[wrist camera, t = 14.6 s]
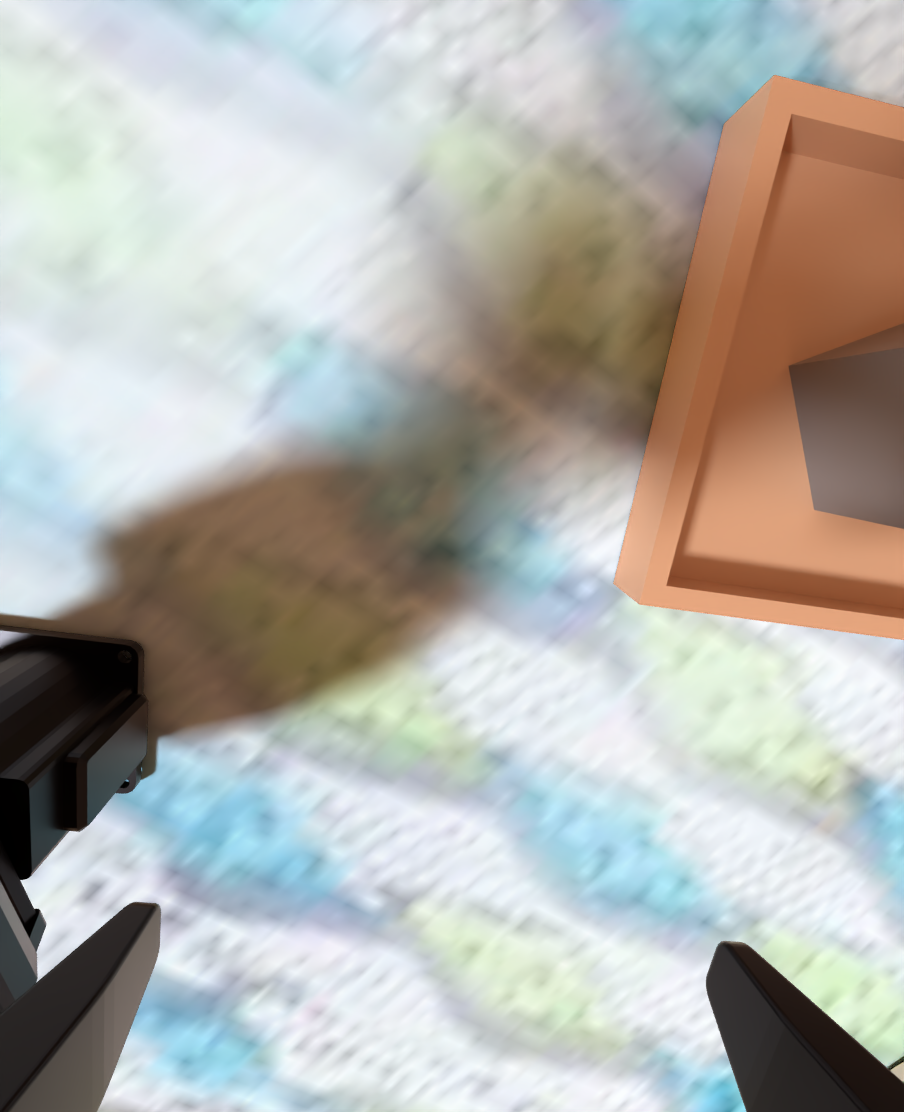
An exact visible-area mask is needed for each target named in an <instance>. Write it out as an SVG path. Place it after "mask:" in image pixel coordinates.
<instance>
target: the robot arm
mask: <svg viewBox="0 0 904 1112" xmlns="http://www.w3.org/2000/svg"><path fill="white" fill-rule="evenodd" d="M123 651H127V652H129V653H130V654H131V656H132V658H131V659H130V658H127V657H126V656H125V655H124V653H123ZM143 672H144V652H143V649H142V647H141V646H140V645H139V644H138V643H137V642H134V641H131V640H123V639H114V638H105V637H96V636H88V635H79V634H70V633H62V632H53V631H44V630H35V629H27V628H18V627H9V626H0V1112H97V1111H98V1108H99V1106H100V1104H101V1102H102V1100H103V1097H104V1095H105V1093H106V1090H107V1088H108V1085H109V1083H110V1080H111V1078H112V1075H113V1073H114V1070H115V1067H116V1065H117V1062H118V1060H119V1057H120V1054H121V1052H122V1049H123V1047H124V1044H125V1041H126V1039H127V1036H128V1034H129V1031H130V1028H131V1026H132V1023H133V1021H134V1018H135V1016H136V1013H137V1010H138V1008H139V1005H140V1003H141V1000H142V997H143V995H144V992H145V990H146V987H147V984H148V982H149V979H150V977H151V974H152V971H153V969H154V966H155V963H156V960H157V957H158V953H159V947H160V925H161V908H160V906H159V904H156V903H145V902H133V903H131V904H129V905H127V906H126V907H124V908H123V909H122V910H121V911H120V912H119V913H117V914H116V915H115V916H114V917H113V918H112V919H110V920H109V921H108V922H107V923H106V924H105V925H103V926H102V927H101V928H100V929H99V930H98V931H96V932H95V933H94V934H93V935H92V936H91V937H89V938H88V939H87V940H86V941H85V942H84V943H82V944H81V945H80V946H79V947H78V948H77V949H75V950H74V951H73V952H72V953H71V954H70V955H68V956H67V957H66V958H65V959H64V960H63V961H61V962H60V963H59V964H58V965H57V966H55V967H54V968H53V969H52V970H51V971H50V972H48V973H47V974H46V975H45V976H44V977H43V978H41V979H40V980H39V981H38V982H37V983H36V981H37V953H36V952H37V949H38V946H39V943H40V941H41V938H42V935H43V933H44V930H45V927H46V922H45V920H44V918H43V915H42V913H41V911H40V910H39V909H34V908H33V906H32V904H31V902H30V900H29V898H28V895H27V893H26V891H25V889H24V887H23V885H22V883H21V881H20V880H24V879H28V878H29V877H30V876H31V875H32V874H33V873H34V872H35V871H36V869H37V868H38V867H39V866H40V865H41V864H42V862H43V861H44V860H45V859H46V858H47V857H48V855H49V854H50V853H51V852H52V851H53V850H54V848H55V847H56V846H57V845H58V844H59V842H60V841H61V840H62V839H63V838H64V837H65V835H66V834H67V833H68V832H69V831H77V832H80V831H82V830H83V829H84V828H86V827H87V826H88V825H89V824H90V823H91V822H92V821H93V819H94V818H95V817H96V816H97V815H98V813H99V812H100V811H101V810H102V808H103V807H104V806H105V805H106V804H107V802H108V801H109V800H110V799H111V797H112V796H113V795H114V794H115V793H122V794H123V793H129V792H131V791H133V789H134V788H135V787H136V786H137V784H138V783H139V782H140V779H141V761H142V759H143V758H144V757H145V756H146V753H147V721H148V700H147V699H146V697H145V695H143ZM126 779H128V780H129V782H127V781H125V780H126ZM35 983H36V984H35ZM706 989H707V994H708V998H709V1001H710V1004H711V1007H712V1010H713V1013H714V1016H715V1019H716V1022H717V1025H718V1028H719V1031H720V1034H721V1037H722V1040H723V1043H724V1046H725V1049H726V1052H727V1055H728V1058H729V1061H730V1064H731V1067H732V1070H733V1073H734V1076H735V1079H736V1082H737V1085H738V1088H739V1091H740V1094H741V1097H742V1100H743V1103H744V1106H745V1108H746V1111H747V1112H904V1082H903V1081H901V1080H900V1079H899V1078H898V1077H897V1076H896V1075H895V1074H893V1073H892V1072H891V1071H890V1070H889V1069H888V1068H887V1067H886V1066H884V1065H883V1064H882V1063H881V1062H880V1061H879V1060H878V1059H877V1058H875V1057H874V1056H873V1055H872V1054H871V1053H870V1052H869V1051H867V1050H866V1049H865V1048H864V1047H863V1046H862V1045H861V1044H860V1043H858V1042H857V1041H856V1040H855V1039H854V1038H853V1037H852V1036H851V1035H849V1034H848V1033H847V1032H846V1031H845V1030H844V1029H843V1028H841V1027H840V1026H839V1025H838V1024H837V1023H836V1022H835V1021H834V1020H832V1019H831V1018H830V1017H829V1016H828V1015H827V1014H826V1013H825V1012H823V1011H822V1010H821V1009H820V1008H819V1007H818V1006H817V1005H815V1004H814V1003H813V1002H812V1001H811V1000H810V999H809V998H808V997H806V996H805V995H804V994H803V993H802V992H801V991H800V990H799V989H797V988H796V987H795V986H794V985H793V984H792V983H791V982H790V981H788V980H787V979H786V978H785V977H784V976H783V975H782V974H780V973H779V972H778V971H777V970H776V969H775V968H774V967H773V966H771V965H770V964H769V963H768V962H767V961H766V960H765V959H764V958H762V957H761V956H760V955H759V954H758V953H757V952H756V951H754V950H753V949H752V948H751V947H750V946H748V945H747V944H745V943H742V942H733V941H722V942H720V943H719V944H718V946H717V948H716V951H715V953H714V956H713V959H712V962H711V965H710V968H709V971H708V973H707V977H706Z"/></svg>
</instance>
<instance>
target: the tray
mask: <svg viewBox="0 0 904 1112" xmlns="http://www.w3.org/2000/svg"><path fill="white" fill-rule="evenodd" d="M902 323H904V107H900V106H896V105H892V104H888V103H884V102H880V101H876V100H872V99H868V98H864V97H860V96H856V95H852V94H848V93H844V92H840V91H836V90H832V89H828V88H824V87H820V86H816V85H813V84H809V83H805V82H801V81H797V80H793V79H789V78H785V77H781V76H777V75H774V76H773V77H772V78H771V79H770V80H769V81H768V82H766V83H765V84H764V85H763V86H762V87H761V88H760V89H759V90H758V91H757V92H756V93H755V94H754V95H753V96H752V97H751V98H750V99H749V100H748V101H747V102H746V103H745V104H744V105H743V106H742V107H741V108H740V109H739V110H738V111H737V112H736V113H735V114H734V115H733V116H732V117H731V118H730V119H729V120H728V121H727V122H725V123H724V126H723V130H722V134H721V138H720V142H719V147H718V151H717V155H716V159H715V163H714V167H713V172H712V176H711V180H710V184H709V188H708V192H707V196H706V201H705V205H704V209H703V213H702V217H701V221H700V226H699V230H698V234H697V238H696V242H695V246H694V250H693V255H692V259H691V263H690V267H689V271H688V275H687V280H686V284H685V288H684V292H683V296H682V300H681V304H680V309H679V313H678V317H677V321H676V325H675V329H674V334H673V338H672V342H671V346H670V350H669V354H668V358H667V363H666V367H665V371H664V375H663V379H662V383H661V388H660V392H659V396H658V400H657V404H656V408H655V412H654V417H653V421H652V425H651V429H650V433H649V437H648V442H647V446H646V450H645V454H644V458H643V462H642V466H641V471H640V475H639V479H638V483H637V487H636V491H635V496H634V500H633V504H632V508H631V512H630V516H629V520H628V525H627V529H626V533H625V537H624V541H623V545H622V550H621V554H620V558H619V562H618V566H617V570H616V574H615V579H614V583H613V584H614V585H616V586H617V587H618V588H619V589H621V590H622V591H623V592H624V593H626V594H627V595H628V596H629V597H631V598H632V599H633V600H634V601H636V602H637V603H638V604H640V605H648V606H655V607H663V608H670V609H678V610H685V611H693V612H700V613H707V614H715V615H722V616H730V617H737V618H745V619H752V620H760V621H767V622H774V623H782V624H789V625H797V626H804V627H812V628H819V629H827V630H834V631H841V632H849V633H856V634H864V635H871V636H879V637H886V638H894V639H901V640H904V529H901V528H897V527H892V526H887V525H883V524H878V523H873V522H868V521H864V520H859V519H854V518H850V517H845V516H840V515H835V514H831V513H826V512H821V511H817V510H814V507H813V501H812V495H811V490H810V484H809V479H808V473H807V467H806V462H805V456H804V451H803V445H802V439H801V434H800V428H799V422H798V417H797V411H796V406H795V400H794V394H793V389H792V383H791V378H790V372H789V365H792V364H795V363H797V362H800V361H803V360H805V359H808V358H811V357H813V356H816V355H819V354H822V353H824V352H827V351H830V350H832V349H835V348H838V347H840V346H843V345H846V344H849V343H851V342H854V341H857V340H859V339H862V338H865V337H867V336H870V335H873V334H875V333H878V332H881V331H884V330H886V329H889V328H892V327H894V326H897V325H900V324H902Z"/></svg>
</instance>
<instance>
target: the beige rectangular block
mask: <svg viewBox="0 0 904 1112" xmlns="http://www.w3.org/2000/svg"><path fill="white" fill-rule="evenodd" d="M789 372H790V378H791V383H792V389H793V394H794V400H795V406H796V411H797V417H798V422H799V428H800V434H801V439H802V445H803V451H804V456H805V462H806V467H807V473H808V479H809V484H810V490H811V495H812V501H813V507H814V510H817V511H821V512H826V513H831V514H835V515H840V516H845V517H850V518H854V519H859V520H864V521H868V522H873V523H878V524H883V525H887V526H892V527H897V528H901V529H904V323H902V324H900V325H897V326H894V327H892V328H889V329H886V330H884V331H881V332H878V333H875V334H873V335H870V336H867V337H865V338H862V339H859V340H857V341H854V342H851V343H849V344H846V345H843V346H840V347H838V348H835V349H832V350H830V351H827V352H824V353H822V354H819V355H816V356H813V357H811V358H808V359H805V360H803V361H800V362H797V363H795V364H792V365H789Z"/></svg>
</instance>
